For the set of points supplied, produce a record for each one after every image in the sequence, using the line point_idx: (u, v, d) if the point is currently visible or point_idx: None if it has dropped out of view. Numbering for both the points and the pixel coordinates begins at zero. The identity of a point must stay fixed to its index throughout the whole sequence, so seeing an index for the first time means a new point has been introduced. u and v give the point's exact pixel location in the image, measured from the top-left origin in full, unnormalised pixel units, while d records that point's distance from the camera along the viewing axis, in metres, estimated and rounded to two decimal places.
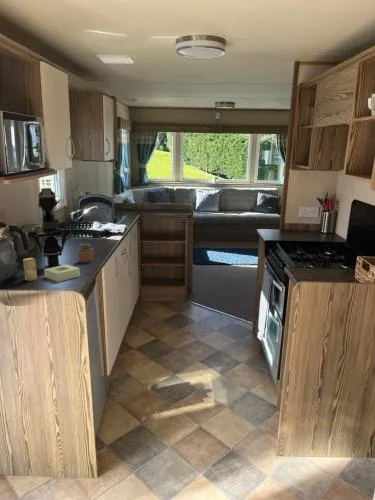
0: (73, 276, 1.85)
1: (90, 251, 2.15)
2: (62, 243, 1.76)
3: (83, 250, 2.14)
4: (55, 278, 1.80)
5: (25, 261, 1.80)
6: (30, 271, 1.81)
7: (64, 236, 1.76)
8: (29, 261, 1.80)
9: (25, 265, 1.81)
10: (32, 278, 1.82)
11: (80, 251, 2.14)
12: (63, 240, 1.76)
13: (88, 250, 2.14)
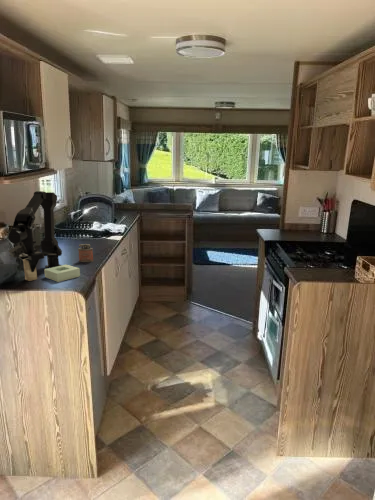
0: (73, 276, 1.85)
1: (90, 251, 2.15)
2: (30, 265, 1.80)
3: (83, 250, 2.14)
4: (55, 278, 1.80)
5: (25, 261, 1.80)
6: (30, 271, 1.81)
7: (28, 260, 1.78)
8: None
9: (25, 265, 1.81)
10: (32, 278, 1.82)
11: (80, 251, 2.14)
12: (29, 263, 1.79)
13: (88, 250, 2.14)
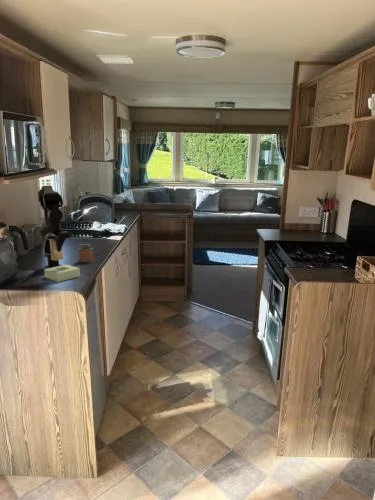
0: (73, 276, 1.85)
1: (90, 251, 2.15)
2: (56, 245, 1.81)
3: (83, 250, 2.14)
4: (55, 278, 1.80)
5: (51, 241, 1.82)
6: (56, 250, 1.82)
7: (54, 240, 1.79)
8: None
9: (51, 245, 1.82)
10: (58, 258, 1.83)
11: (80, 251, 2.14)
12: (56, 243, 1.80)
13: (88, 250, 2.14)
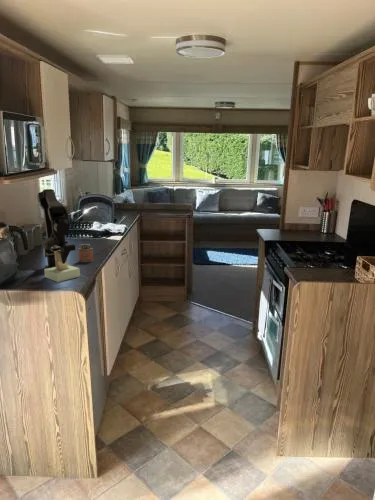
0: (73, 276, 1.85)
1: (90, 251, 2.15)
2: (61, 257, 1.83)
3: (83, 250, 2.14)
4: (55, 278, 1.80)
5: (56, 253, 1.83)
6: (61, 262, 1.84)
7: (60, 252, 1.81)
8: None
9: (56, 257, 1.84)
10: None
11: (80, 251, 2.14)
12: (61, 255, 1.82)
13: (88, 250, 2.14)
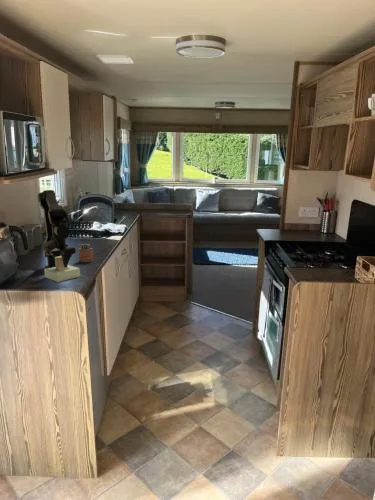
0: (73, 276, 1.85)
1: (90, 251, 2.15)
2: (63, 261, 1.82)
3: (83, 250, 2.14)
4: (55, 278, 1.80)
5: (57, 259, 1.84)
6: (62, 268, 1.85)
7: (61, 256, 1.80)
8: (61, 259, 1.84)
9: (56, 263, 1.85)
10: None
11: (80, 251, 2.14)
12: (63, 258, 1.82)
13: (88, 250, 2.14)
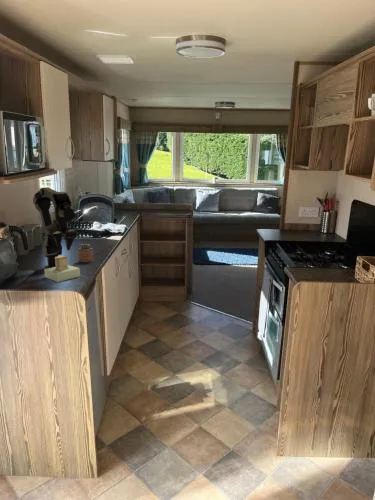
0: (73, 276, 1.85)
1: (90, 251, 2.15)
2: (66, 244, 1.86)
3: (83, 250, 2.14)
4: (55, 278, 1.80)
5: (57, 259, 1.84)
6: (62, 268, 1.85)
7: (64, 239, 1.84)
8: (61, 259, 1.84)
9: (57, 263, 1.85)
10: None
11: (80, 251, 2.14)
12: (66, 241, 1.86)
13: (88, 250, 2.14)
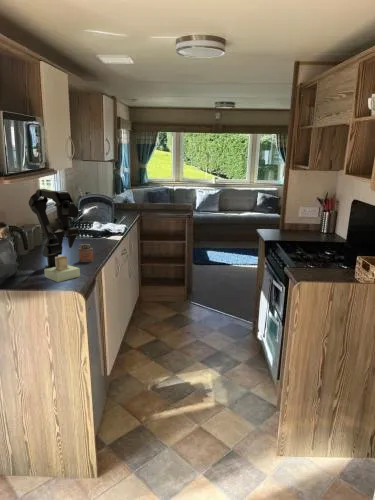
0: (73, 276, 1.85)
1: (90, 251, 2.15)
2: (68, 241, 1.90)
3: (83, 250, 2.14)
4: (55, 278, 1.80)
5: (57, 259, 1.84)
6: (62, 268, 1.85)
7: (67, 236, 1.87)
8: (61, 259, 1.84)
9: (57, 263, 1.85)
10: None
11: (80, 251, 2.14)
12: (68, 239, 1.89)
13: (88, 250, 2.14)
